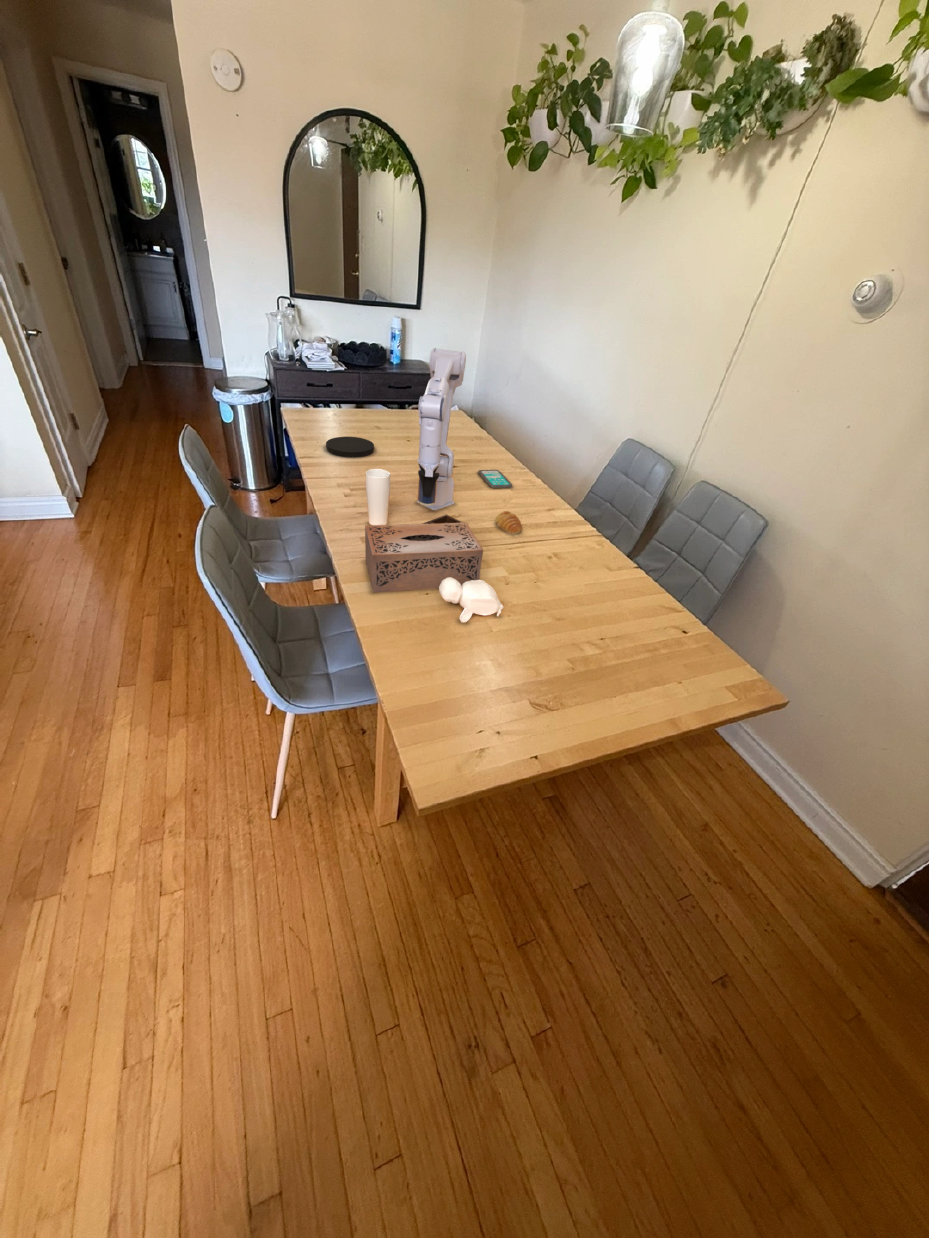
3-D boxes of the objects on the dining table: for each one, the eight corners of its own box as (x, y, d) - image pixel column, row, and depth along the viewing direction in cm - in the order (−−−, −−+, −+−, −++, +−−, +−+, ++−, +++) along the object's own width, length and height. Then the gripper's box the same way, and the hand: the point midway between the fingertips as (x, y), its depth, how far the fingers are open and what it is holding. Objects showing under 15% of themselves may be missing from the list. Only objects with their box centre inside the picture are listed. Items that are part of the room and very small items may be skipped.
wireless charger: (350, 438, 203) (350, 433, 202) (383, 450, 196) (383, 445, 195) (316, 447, 191) (315, 442, 190) (349, 461, 184) (349, 455, 183)
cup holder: (409, 536, 142) (409, 528, 141) (445, 522, 152) (446, 514, 150) (428, 547, 138) (429, 538, 137) (465, 531, 148) (466, 524, 146)
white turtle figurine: (482, 609, 123) (427, 594, 115) (499, 580, 119) (443, 563, 112) (493, 630, 116) (435, 616, 109) (511, 601, 112) (453, 584, 105)
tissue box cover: (372, 592, 118) (372, 555, 112) (365, 561, 129) (365, 525, 123) (478, 585, 125) (483, 550, 119) (462, 556, 136) (466, 522, 130)
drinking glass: (385, 530, 144) (385, 479, 135) (362, 526, 144) (361, 475, 135) (392, 520, 149) (393, 471, 140) (370, 516, 150) (370, 467, 141)
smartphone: (498, 469, 189) (513, 484, 178) (498, 471, 190) (513, 487, 179) (477, 469, 187) (490, 485, 176) (476, 472, 187) (490, 488, 176)
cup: (426, 497, 147) (428, 470, 142) (438, 502, 144) (440, 475, 140) (414, 501, 144) (415, 473, 139) (426, 507, 141) (428, 479, 137)
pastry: (526, 534, 151) (529, 522, 148) (507, 537, 148) (509, 525, 146) (511, 520, 157) (513, 509, 155) (492, 523, 155) (493, 511, 152)
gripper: (446, 454, 129) (442, 504, 137) (444, 436, 140) (440, 483, 149) (418, 451, 128) (415, 502, 136) (418, 434, 140) (416, 481, 148)
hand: (427, 492), depth 142 cm, fingers closed on cup, 5 cm apart
